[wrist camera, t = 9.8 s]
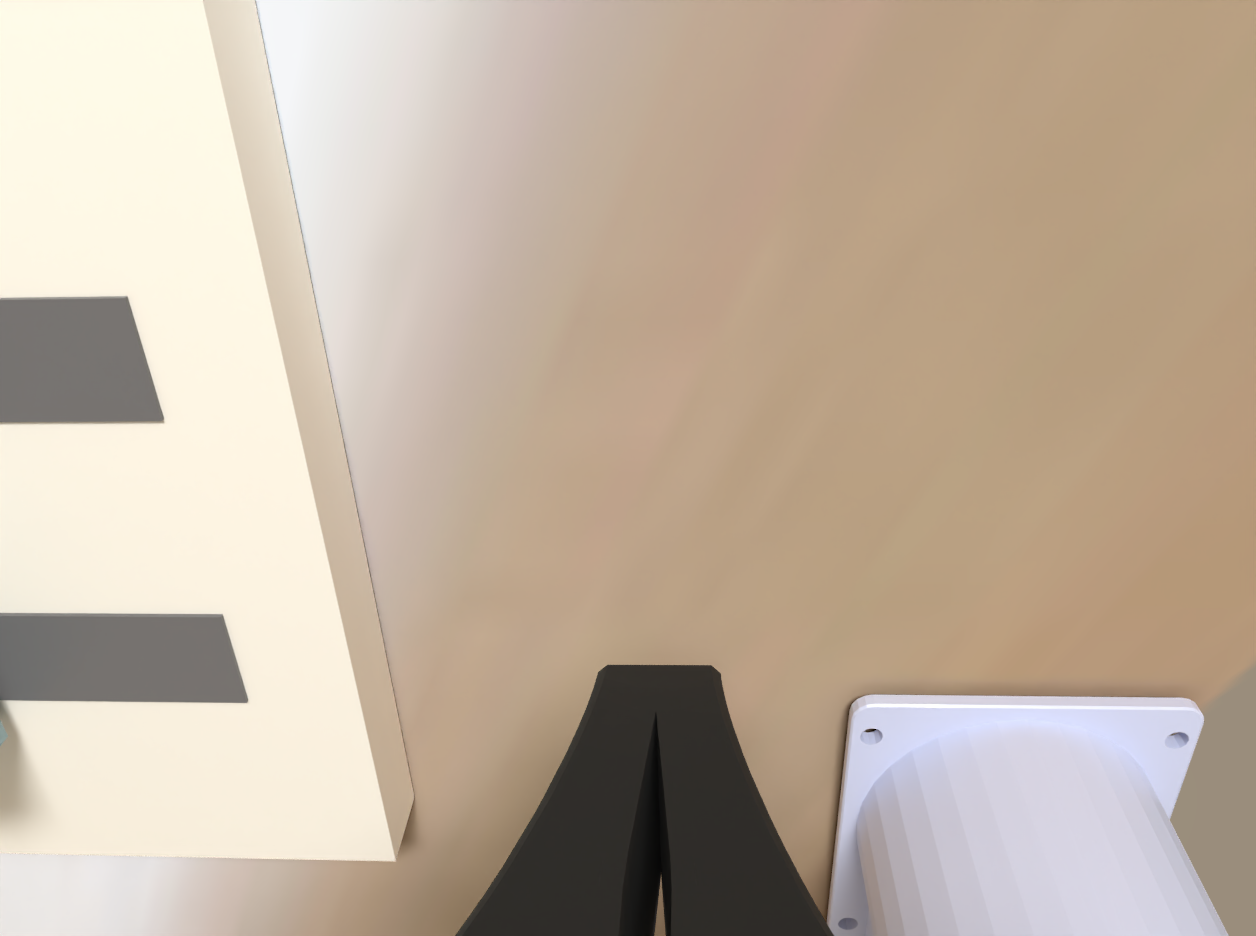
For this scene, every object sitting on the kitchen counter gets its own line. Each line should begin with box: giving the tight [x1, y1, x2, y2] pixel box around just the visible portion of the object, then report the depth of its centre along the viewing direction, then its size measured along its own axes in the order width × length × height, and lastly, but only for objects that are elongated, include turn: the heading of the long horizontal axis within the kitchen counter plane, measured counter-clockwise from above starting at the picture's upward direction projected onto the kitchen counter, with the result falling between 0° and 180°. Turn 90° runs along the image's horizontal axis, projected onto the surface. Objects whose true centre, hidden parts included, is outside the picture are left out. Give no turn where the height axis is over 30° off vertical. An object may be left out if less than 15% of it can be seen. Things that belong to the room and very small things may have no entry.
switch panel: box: [0, 0, 414, 861], centre depth 21 cm, size 20×14×2 cm
